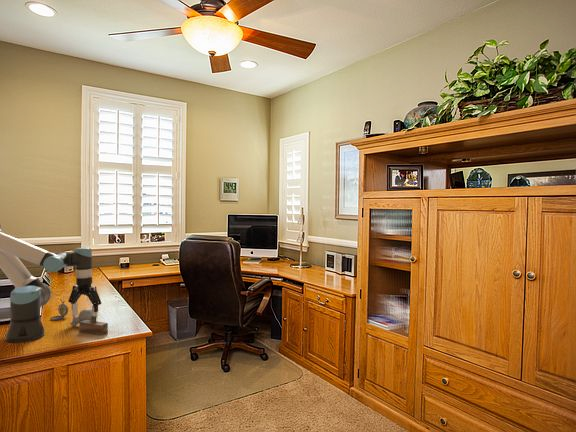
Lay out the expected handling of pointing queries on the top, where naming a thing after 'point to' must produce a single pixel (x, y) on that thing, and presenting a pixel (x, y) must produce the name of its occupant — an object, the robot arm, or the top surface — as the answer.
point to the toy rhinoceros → (81, 317)
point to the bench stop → (93, 326)
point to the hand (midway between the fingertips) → (84, 316)
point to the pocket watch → (61, 312)
